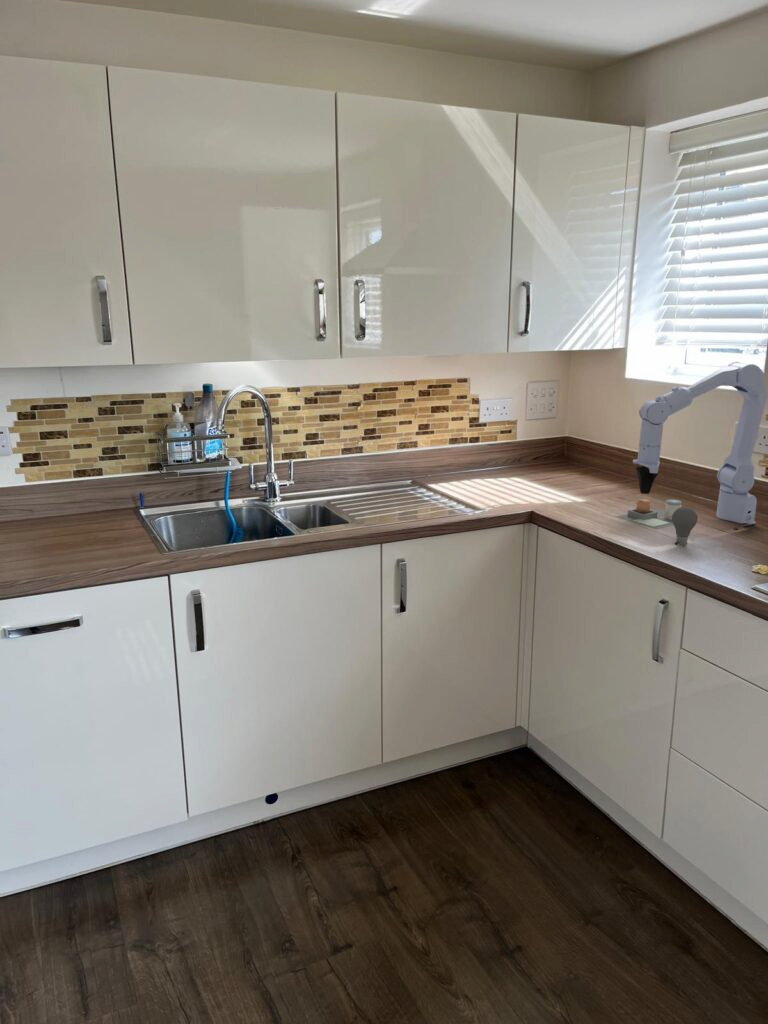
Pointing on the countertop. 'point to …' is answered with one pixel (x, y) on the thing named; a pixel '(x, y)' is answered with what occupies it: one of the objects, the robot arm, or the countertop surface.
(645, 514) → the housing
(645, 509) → the orange round piece
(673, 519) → the light bulb
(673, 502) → the cartridge
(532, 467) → the countertop surface
